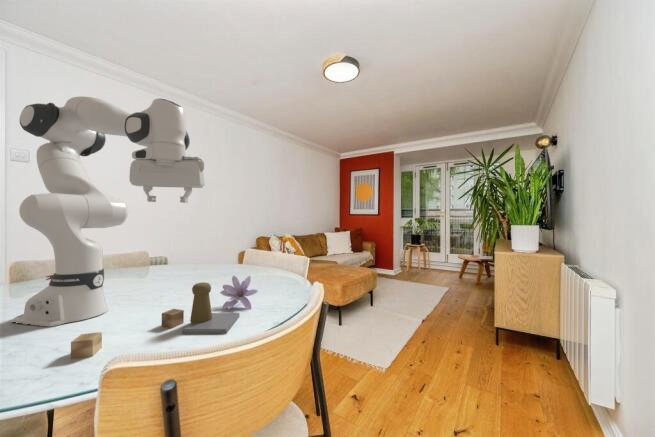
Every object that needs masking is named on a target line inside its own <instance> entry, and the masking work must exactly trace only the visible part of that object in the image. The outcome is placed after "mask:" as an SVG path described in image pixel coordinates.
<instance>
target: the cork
mask: <svg viewBox="0 0 655 437" xmlns="http://www.w3.org/2000/svg"><path fill="white" fill-rule="evenodd" d="M211 291H212V286H211V284H210V283H209V282H204V281H203V282H198V283H197V282H196V283H195V284H193V286H192V288H191V292H192V294H193V298H192V306H191V307H192V308H191V313H190V318H189V320H190V321H189V322H190V323H191V322H192V323H204V322H207V321H209V320H211V319H212V313H213V312H212V307H211V299H210V298H211V297H210V293H211Z"/></svg>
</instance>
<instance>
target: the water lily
mask: <svg viewBox="0 0 655 437" xmlns="http://www.w3.org/2000/svg"><path fill="white" fill-rule="evenodd" d="M251 277H252V276H251V275H249V276H247V277H246V278H245V279H244V280H243V281H242V282H240V280H239V279H238V277H237V276H236V275H232V277H231V282H232V285H231V284H223V285H222V289H223V290H221V291H220V292H219V293H220V295H222V296H224V297H229V298H228V299H227V301H225V302H224V303H223V305H222V307H221V310H225V309H232V308H233V307H234V306H236V305H237V304H238V303H239V301H240V305H241V306H242V307H244V308H246V310H251V309H252V303H251V301H250V300H249V298H247V297H250V296H252V295H255V294H257V293H258V291H259V290H258V289H253V288H252V289H248V287H249V286H250V283H251V280H252V278H251Z"/></svg>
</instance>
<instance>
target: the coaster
mask: <svg viewBox="0 0 655 437" xmlns="http://www.w3.org/2000/svg"><path fill="white" fill-rule="evenodd" d="M239 318H240V312H212V319H211V320H209V321H207V322H204V323H192V322H190V323H189V324H187V325H186V326H185V327H183V329H182V334H183V335H185V334H190V335H191V334H227V333H229V331H230V330H231V329H232V327H233V326H234V324H236V322H237V321H238V319H239Z"/></svg>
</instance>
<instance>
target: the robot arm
mask: <svg viewBox="0 0 655 437" xmlns="http://www.w3.org/2000/svg"><path fill="white" fill-rule="evenodd" d="M183 108H184V107H182V106H181V105H180V104H179V103H178V104H177V103H176V102H173V101H171V100H168V99H165V98H155V99H153V101H152V102H151V104H150V106H149V107H147V108H146V109H144V110H141V111H140V112H137V111H136V112H133V113H129V112H127V111H126V110H124V109H122V108H120V107H118V106H116V105H114V104H113V103H110V102H108V101H105V100H103V99H100V98H97V97H96V98H95V97H92V96H80V95H79V96H72V97H71V98H68V100H67V101H66V102H65V104H64V106H62V107H60V106H56V105H55V103H54V102H48V103H46V104H45V103H34V104H33V103H32V104H28V105H26V106H25V107H24V108H23V109H22V110H21V113H20V115H19V124H20V127H21V128H22V130H24V131H25V132H26V133H29V134H31V135H33V136H35V137H37V138H38V137H40V138H41V139H44V140H47V141H49V142H46V143H43V144H40V145H39V147H38V148H37V150H36V163H37V168H38V171H39V174H40V177H41V179H42V182H43V184H44V187H45V189H46V190H47V191H48V192H49V193H35V194H30V195H28V196H27V197H26V198H25V199H24V200H22V202H21V203H20V204H19V209H18V210H19V211H18V212H19V216H20V219H21V220H22V221H23V222H24V224H25V225H27V226H28V227H30V228H32V229H35V230H37V231H38V232H40V233H41V234H42V235H44V237H46V239H47V240H48V241H49V243H50V244H51V246H52V248H53V253H54V254H53V255H54V267H55V268H54V273H53V274H51V275H48V276H47V275H46V276H45V281H47V280H48V281H49V283H48V286H46V287H45V288H43V289H41V291H39V292H37V293H36V294H34V295H33V296H32V297H30V298H29V299H27V301H26V302H25V304H24V308H23V309H24V311H23V314H20V315H17V316H16V317H14V318H13V319H11V323H12V322H17V323H23V324H22V325H27V324H31V325H30V326H38V325H39V327H55V326H59V325H63V324H67V323H73V322H79V321H83V320H88V319H91V318H94V317H97V316H100V315H103V314H105V313H106V312H108V311H109V307H108V304H107V300H106V297H105V291H104V282H105V281H104V280H105V269H104V268H103V256H104V254H103V247H102V245H100V244H99V242H96V241H94V240H92V239H89V238H86V237H84V236H83V234H82V230H81V229H107V228H113V227H116V226H121V225H123V224H124V223H125V221H126V220H127V218H128V214H129V211H128V207H127V205H126V203H125V202H124V201H123V200H122V199H119V198H117V197H114V196H112V195H110V194H109V193H107V192H105V191H104V190H102V189H101V187H100V188H99V187H98V186H97V185H96V184H95V183H94V182H93V181H92V180H91V178H90V177H89V175H88V173H87V171H86V169H85V167H84V165H83V163H82V161H81V159H80V156H81V157H89V156H90V155H92V154H95V153H98V152H99V151H101V150H102V149H103V148H104V147H105V145H106V139H107V138H106V135H109V136H110V135H111V136H120V137H127V139H128V140H129V141H130V142H132V143H134V144H136V145H138V146H143V147H144V148H141V149H138V150H134V151H133V152H131V157H132V159H134V160H133V161H132V162H131V163H130V167H129V182H130V184H131V185H132V186H134V187H135V186H136V187H142V190H143V192H144V193H145V195H146V197H147V202H149V203H153V202H154V203H156V202H157V196H156V195H154V194H153V192H152V191H154V190H153V188H155V187H156V188H183V191H184V194H183V195H182V196H179V202H180V203H182V204H188V203H189V197H190V196H191V194H192V192H193V189H202V188H203V187H204V186H205V173H204V169H205V162H204V160H203V159H202V158H201V157H199V156H188V155H187V156H186V151H187V150H188V148H189V147H190V142H191V141H190V140H191V139H190V136H189V133H188V131H187V125H186V123H187V122H186V115H185V110H184V109H183ZM17 323H16V324H17Z"/></svg>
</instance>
